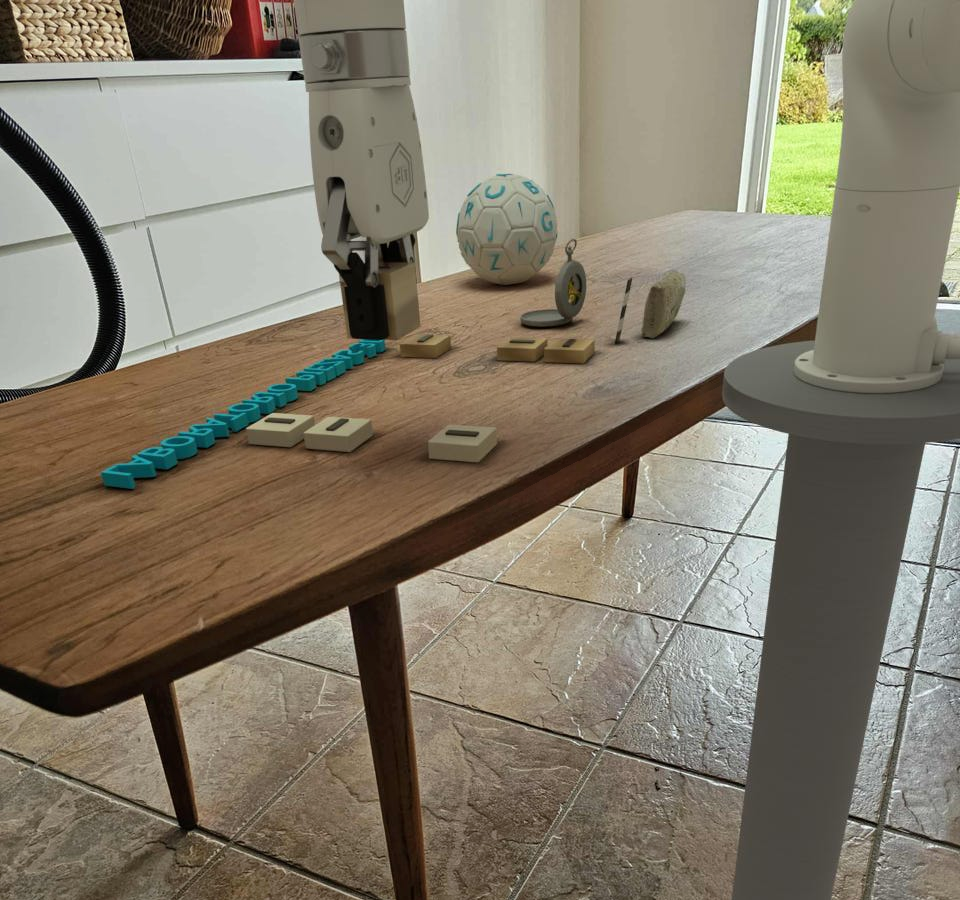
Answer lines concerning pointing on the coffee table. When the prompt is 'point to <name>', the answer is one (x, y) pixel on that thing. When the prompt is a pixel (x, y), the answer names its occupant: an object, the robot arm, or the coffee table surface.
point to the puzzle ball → (507, 229)
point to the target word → (366, 436)
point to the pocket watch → (562, 295)
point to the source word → (507, 348)
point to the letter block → (396, 298)
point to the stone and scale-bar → (658, 304)
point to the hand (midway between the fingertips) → (384, 328)
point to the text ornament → (237, 416)
